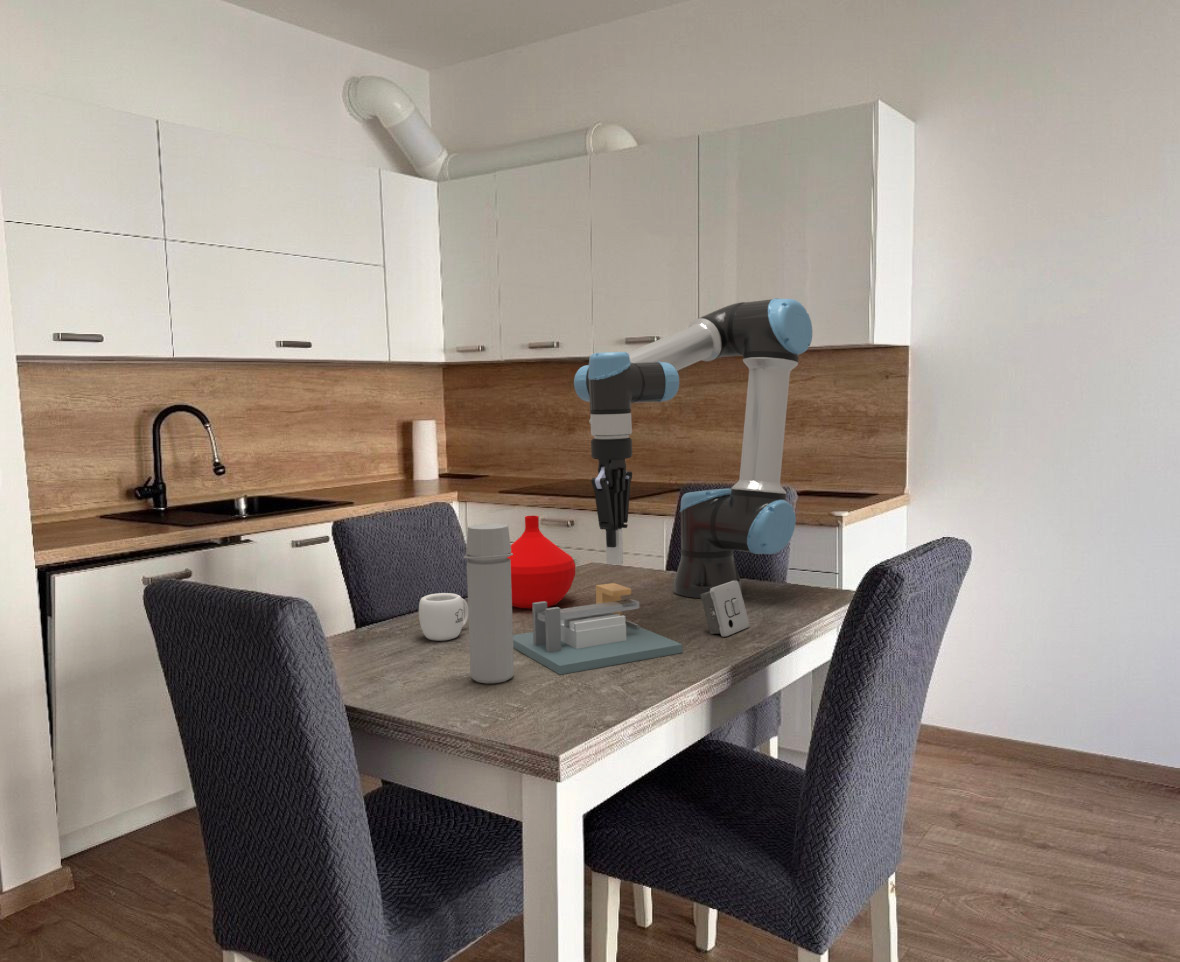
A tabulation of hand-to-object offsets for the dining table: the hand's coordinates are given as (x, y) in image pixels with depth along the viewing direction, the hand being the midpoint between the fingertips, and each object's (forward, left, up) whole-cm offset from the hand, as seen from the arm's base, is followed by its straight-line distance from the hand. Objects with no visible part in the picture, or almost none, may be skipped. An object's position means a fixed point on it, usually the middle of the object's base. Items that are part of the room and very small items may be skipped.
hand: (614, 563), depth 179 cm
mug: (+26, -19, -14) cm, 35 cm away
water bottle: (+29, +10, -14) cm, 34 cm away
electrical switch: (-20, +7, -14) cm, 25 cm away
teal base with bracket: (+7, +4, -14) cm, 16 cm away
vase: (+1, -34, -14) cm, 36 cm away
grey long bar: (+8, +4, -8) cm, 12 cm away
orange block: (-1, -2, -12) cm, 13 cm away
